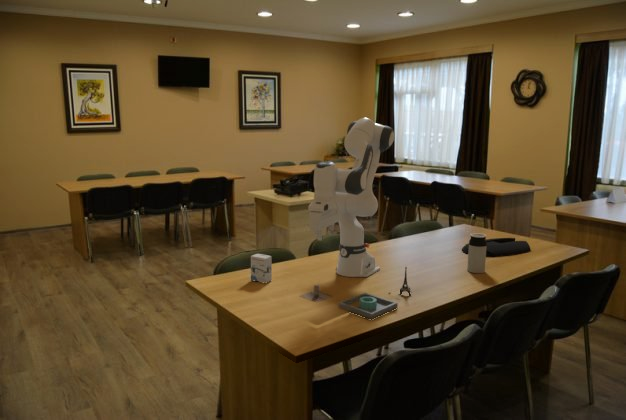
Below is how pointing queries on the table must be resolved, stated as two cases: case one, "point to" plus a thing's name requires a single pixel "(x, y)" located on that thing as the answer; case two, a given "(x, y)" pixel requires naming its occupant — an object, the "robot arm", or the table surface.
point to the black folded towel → (502, 247)
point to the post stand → (316, 295)
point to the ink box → (261, 268)
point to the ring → (368, 303)
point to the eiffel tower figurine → (404, 288)
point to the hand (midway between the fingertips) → (325, 237)
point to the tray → (381, 309)
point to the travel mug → (477, 253)
